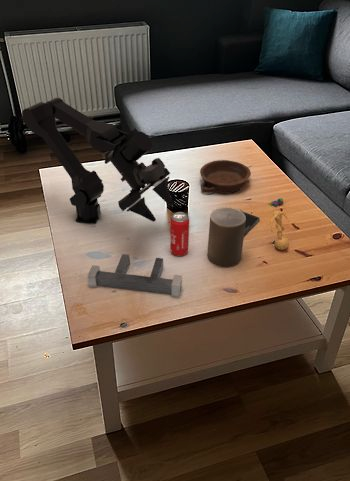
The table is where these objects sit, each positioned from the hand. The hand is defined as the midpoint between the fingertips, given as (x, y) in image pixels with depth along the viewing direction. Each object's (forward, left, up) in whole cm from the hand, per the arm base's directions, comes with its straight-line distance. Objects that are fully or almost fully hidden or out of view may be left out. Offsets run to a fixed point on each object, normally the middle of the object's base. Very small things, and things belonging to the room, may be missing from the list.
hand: (163, 212), depth 133 cm
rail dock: (-4, -15, -12) cm, 19 cm away
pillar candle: (+18, -2, -12) cm, 21 cm away
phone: (+21, +13, -12) cm, 27 cm away
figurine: (+33, +5, -12) cm, 35 cm away
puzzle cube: (+33, +28, -12) cm, 45 cm away
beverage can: (+5, -2, -12) cm, 13 cm away
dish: (+14, +39, -12) cm, 43 cm away
